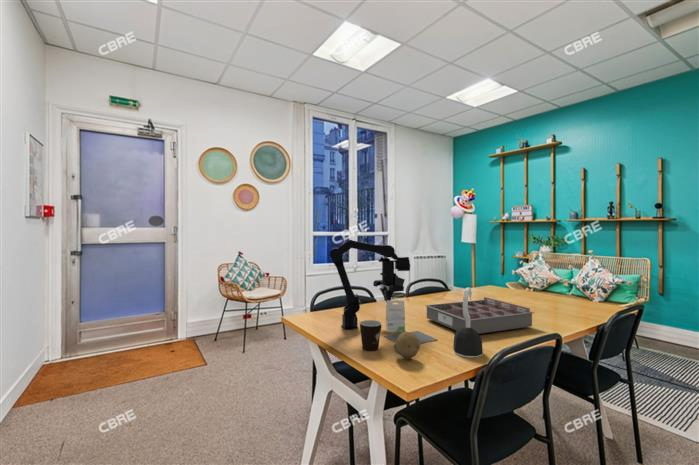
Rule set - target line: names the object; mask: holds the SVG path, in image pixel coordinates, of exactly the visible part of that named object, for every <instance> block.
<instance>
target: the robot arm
mask: <svg viewBox="0 0 699 465" xmlns="http://www.w3.org/2000/svg"><path fill="white" fill-rule="evenodd" d="M351 249H354V250H359V251H365V252H370V253H375V254H377V255H380V258H378V260H377V261H378V262H379V263H381V266H382V267H381V269H382V270H381V272H379V273H380V276H381V279H378V280H377V279H375V280H374V281H373V287H376V288H377V287H378V286H380V287H379V291H380V292H381V294H382V296H383V298H384V300H385V303H386V304H387V300H392V296H393V294H394V293H396V292H397V293H399V292H404V291H405V286H404V283H405V281H406V279H404V278H401V277H399V276H398V275H397V273H395V270H397V272H410V271H411V264H410V262H411V261H410V258H409V256H404V257H403V256H402V257H401V256H398V255H397V254H396V250H395V248H394V247H393V246H392V245H389V244H373V243H367V242H362V241H355V240H352V239H349V240H347V241H346V242H345V243H343V244H341V245H340V246H338V247H333V248H332V249H330V252H329V257H330V259H331V261H332V262H333V264H334V267H336V270H337V273H338V276H339V278H340V282H341V285H342V288H343V291H344V293H345V296H346V297H345V298H346V306H344V307H343V314H342V315H341V316H342V318H341V320H342V321H341V322H342V323H341V324H340V327H341V328H343V330H354V329H355V330H356V329H359V326H358V323H359V322H358V320H359V318H358V316H357V313H359V311H360V309H361V300H360V299H359V295H358V293H356V294H355V293H354V291H353V289H352V288H353V287H352V285H351V283H350V280H349V276H348V273H347V271H346V268H345V265H344V260H343V259H344V257H343V255H344V254H346V253H347V252H348V251H350V250H351ZM385 257H386V258H385ZM390 258H391V259H390ZM392 259H393V260H392Z"/></svg>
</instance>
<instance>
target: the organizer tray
mask: <svg viewBox="0 0 699 465" xmlns="http://www.w3.org/2000/svg"><path fill="white" fill-rule="evenodd" d="M424 306H425V307H426V319H428V320H431V321H433V322H435V323H437V324H440V325H442V326H443V327H447V328H449V329H452V330H455V331H456V332H457V331H458V330H459V329H461V328H463V327H466V319H465V318H464V315H463V301H459V302H458V301H456V302H447V303H446V302H445V303H444V302H443V303H434V304H426V305H424ZM468 314H469V316H470V327H471V328H473V329H475V330H476V331H477V332H478V334H479V335H480V334H485V333H495V332H500V331H507V330H514V329H515V330H516V329H522V328H523V329H524V328H528V327H529V328H530V327H533V314H535V312H534V311H531V308H530V307H526V306H522V305H520V304H519V305H518V304H515V303H512V302H506V301H503V300H500V299H499V300H498V299H494V298H490V297H488V296H483V299H477V300H468Z"/></svg>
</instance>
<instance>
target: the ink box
mask: <svg viewBox="0 0 699 465" xmlns="http://www.w3.org/2000/svg"><path fill="white" fill-rule="evenodd" d="M395 303H396V304H395ZM405 312H406V310H405V300H396V299H395V300H394V299H391V300H387V303H386V305H385V328H386V333H399V334H400V333H403V332H406V313H405Z"/></svg>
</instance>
